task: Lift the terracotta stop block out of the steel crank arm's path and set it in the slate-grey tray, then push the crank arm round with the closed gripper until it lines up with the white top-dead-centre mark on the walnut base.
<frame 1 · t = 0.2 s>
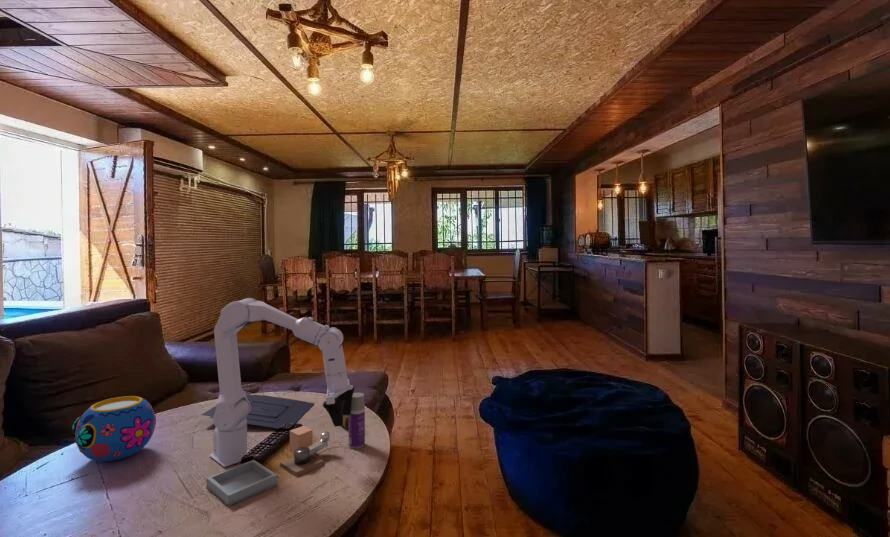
hand: (342, 419, 117), 10 cm above the table, fingers open, 7 cm apart
ceramic pot: (117, 456, 116), on the table
container: (356, 445, 124), on the table, touching gripper
tray: (242, 486, 102), on the table
crank base: (301, 465, 113), on the table
crank: (312, 446, 116), point 3 cm above the table, hinge at 100.0°
wooden carving: (340, 423, 140), on the table
dark grey flat slab: (260, 416, 146), on the table
stop block: (301, 450, 121), on the table
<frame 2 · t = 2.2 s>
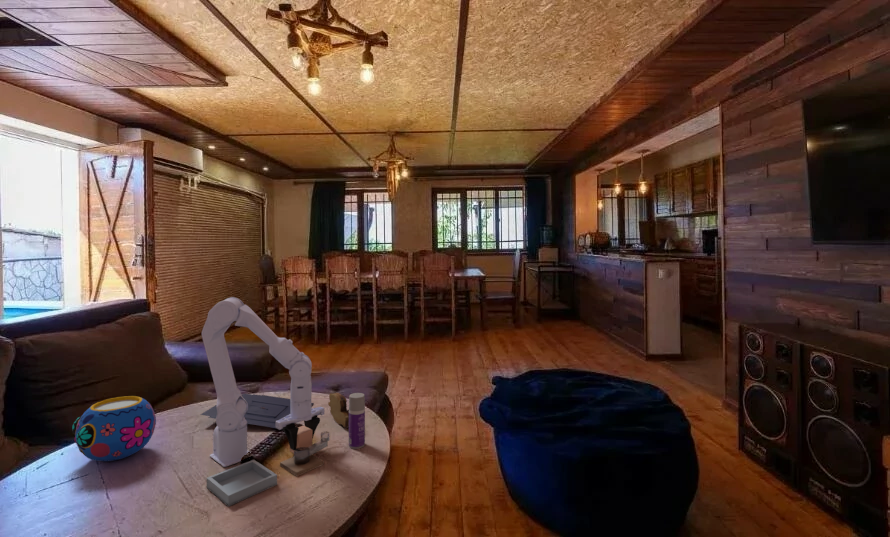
hand: (301, 445, 121), 1 cm above the table, fingers closed on stop block, 4 cm apart
container: (356, 445, 124), on the table
stop block: (301, 450, 121), on the table, touching gripper
everything else where it was.
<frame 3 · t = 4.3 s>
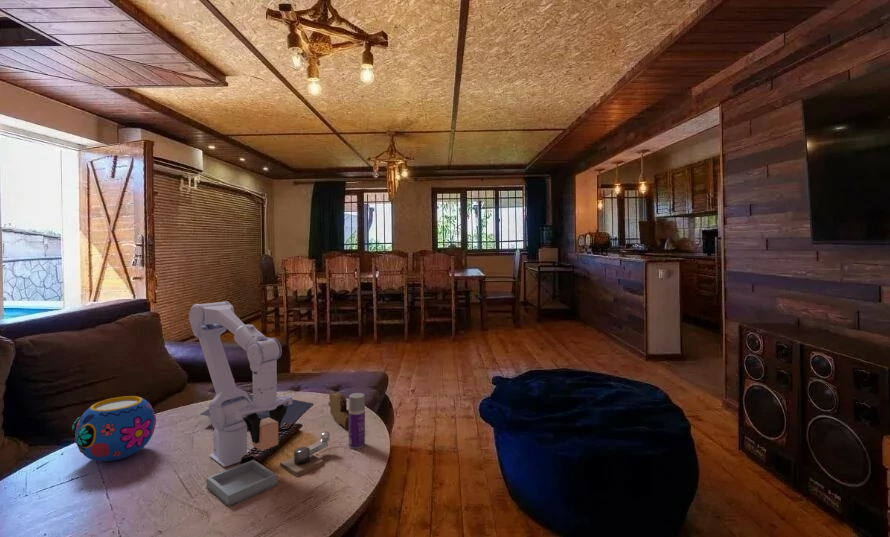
hand: (264, 438, 108), 9 cm above the table, fingers closed on stop block, 4 cm apart
stop block: (265, 445, 108), point 7 cm above the table, touching gripper
when the fingers open (3 cm above the table, at t = 6.3 s): stop block drops 1 cm, resting on tray.
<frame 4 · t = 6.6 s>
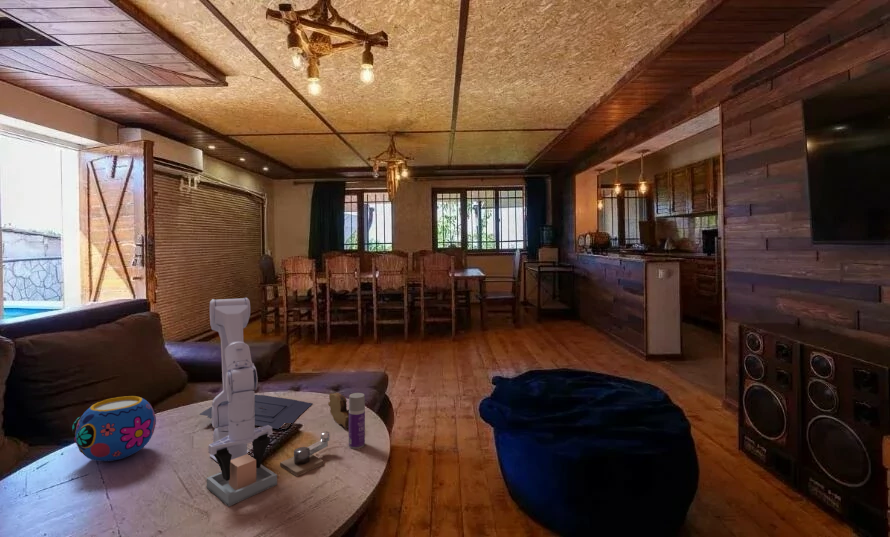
hand: (242, 472, 102), 3 cm above the table, fingers open, 7 cm apart
stop block: (242, 484, 102), resting on tray
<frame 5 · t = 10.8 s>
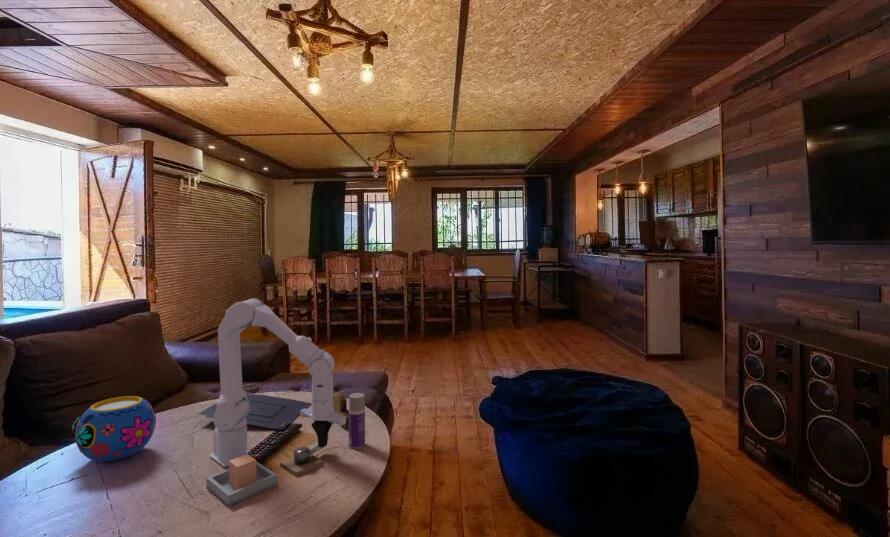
hand: (322, 445, 117), 3 cm above the table, fingers closed, pressing on crank
crank: (312, 446, 116), point 3 cm above the table, hinge at 102.9°, touching gripper
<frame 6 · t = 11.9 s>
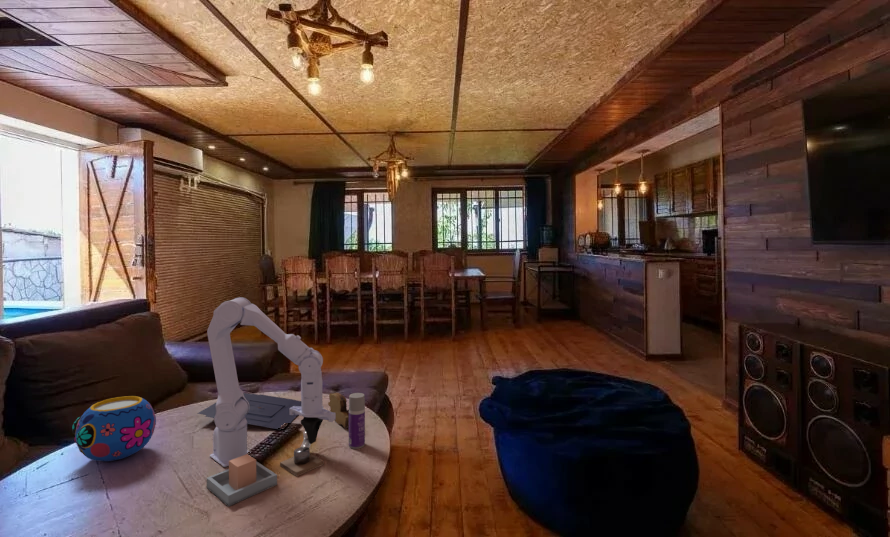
hand: (312, 442, 119), 3 cm above the table, fingers closed, pressing on crank
crank: (304, 446, 116), point 3 cm above the table, hinge at 136.7°, touching gripper
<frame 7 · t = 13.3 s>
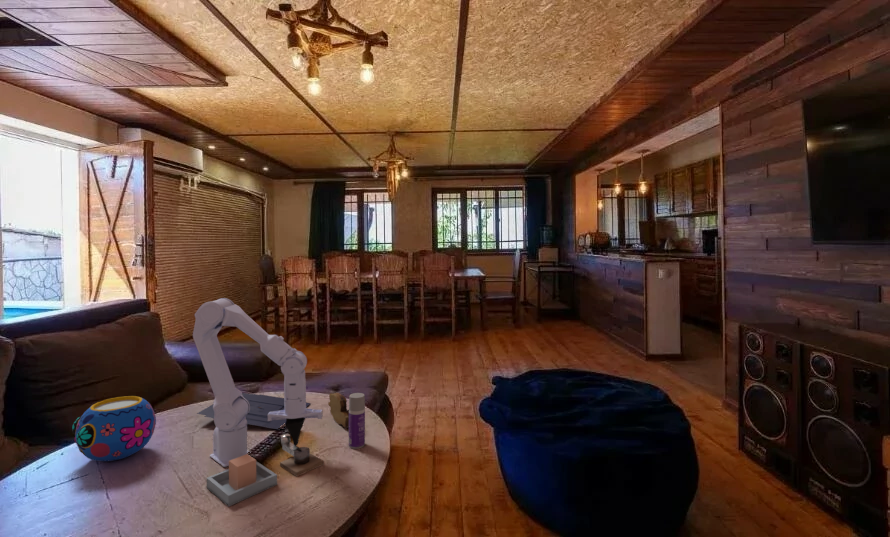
hand: (296, 444, 118), 3 cm above the table, fingers closed, pressing on crank
crank: (294, 448, 115), point 3 cm above the table, hinge at 178.1°, touching gripper
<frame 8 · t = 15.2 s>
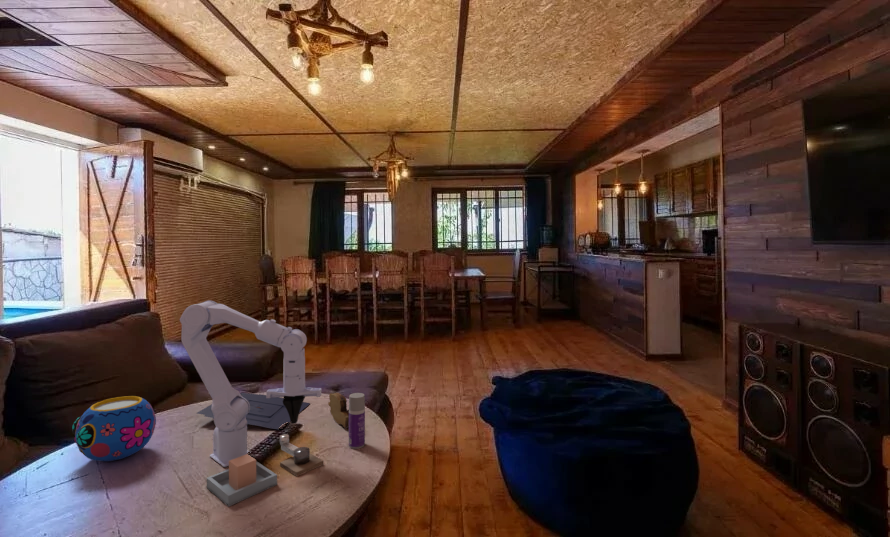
hand: (294, 422, 118), 9 cm above the table, fingers closed
crank: (293, 448, 115), point 3 cm above the table, hinge at 180.7°
at the end: stop block 0.2 cm off-centre on the tray, point 0.5 cm above the tray's base; stop block tilted 0°; crank at +181° (first picture: +100°) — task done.
